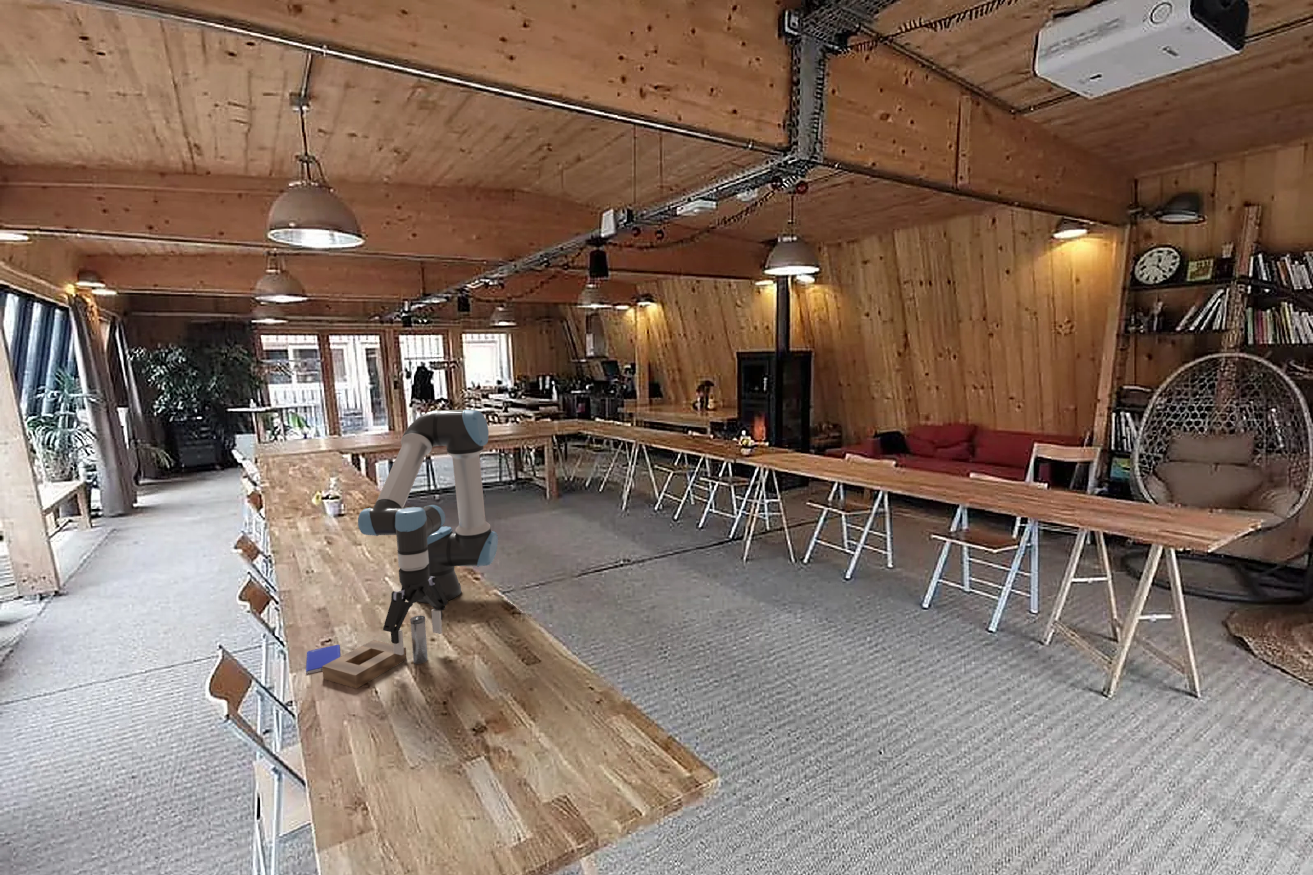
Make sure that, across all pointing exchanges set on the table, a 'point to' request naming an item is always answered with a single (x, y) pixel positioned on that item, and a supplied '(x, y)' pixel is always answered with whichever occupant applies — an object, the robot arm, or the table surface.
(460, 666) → the table surface
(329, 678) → the slot block
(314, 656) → the hard drive
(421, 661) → the pin
